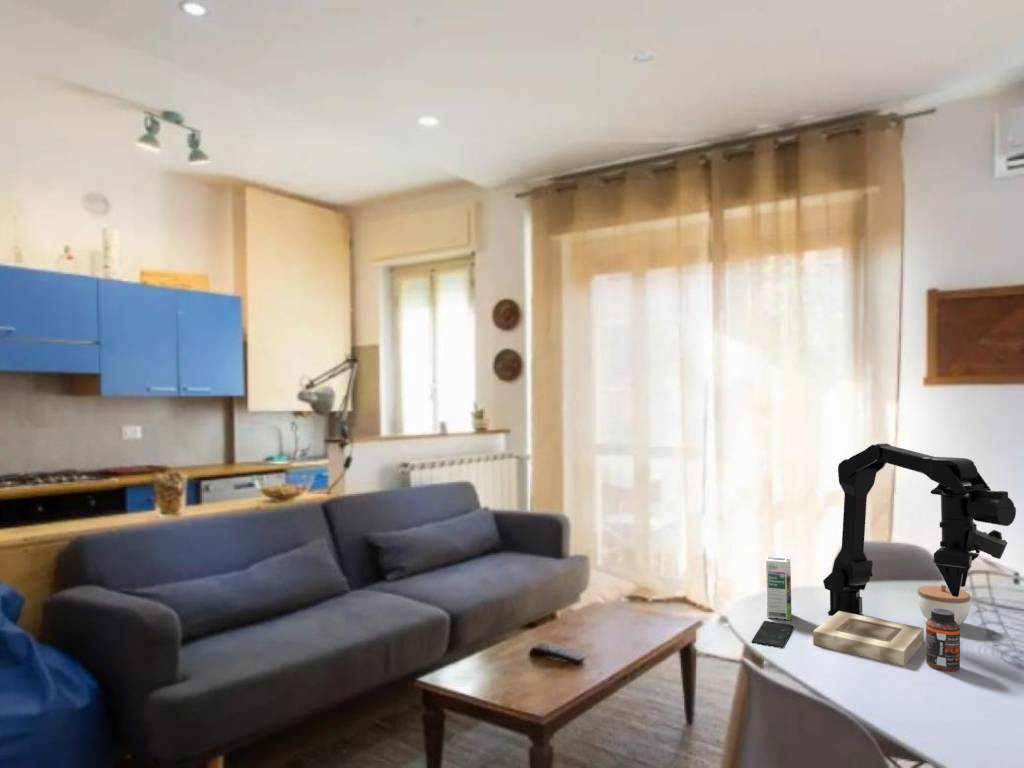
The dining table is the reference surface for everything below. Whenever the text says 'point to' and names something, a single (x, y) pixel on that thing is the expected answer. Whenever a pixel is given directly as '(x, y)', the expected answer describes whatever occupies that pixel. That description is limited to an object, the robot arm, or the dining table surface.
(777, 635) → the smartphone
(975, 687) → the dining table surface
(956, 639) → the supplement bottle
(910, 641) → the maple socket board
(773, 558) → the syrup box
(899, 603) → the dining table surface
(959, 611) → the lidded jar
